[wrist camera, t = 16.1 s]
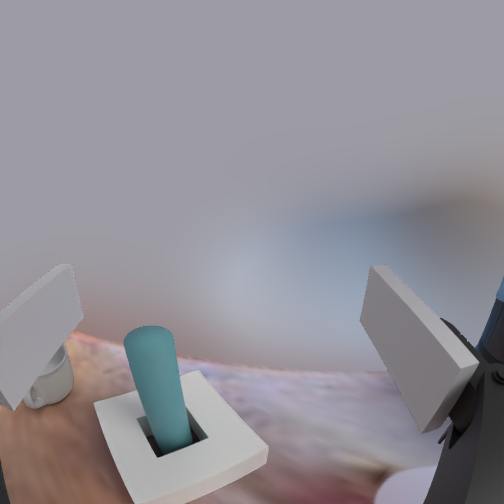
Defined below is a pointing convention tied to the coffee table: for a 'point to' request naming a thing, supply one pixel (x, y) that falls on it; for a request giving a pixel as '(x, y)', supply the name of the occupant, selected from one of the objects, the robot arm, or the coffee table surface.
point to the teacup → (51, 381)
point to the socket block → (184, 460)
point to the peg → (159, 386)
